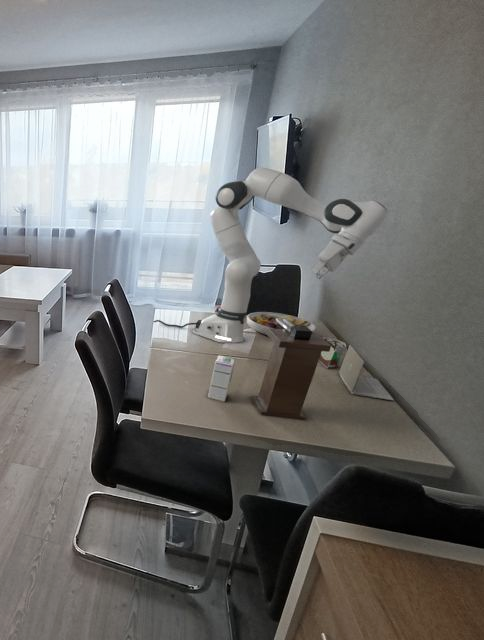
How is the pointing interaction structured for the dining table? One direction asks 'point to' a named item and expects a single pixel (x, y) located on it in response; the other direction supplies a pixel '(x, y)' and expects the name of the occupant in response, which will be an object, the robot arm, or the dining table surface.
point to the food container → (332, 353)
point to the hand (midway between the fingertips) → (315, 275)
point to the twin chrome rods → (295, 330)
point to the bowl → (274, 321)
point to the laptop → (360, 377)
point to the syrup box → (221, 378)
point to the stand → (288, 374)
